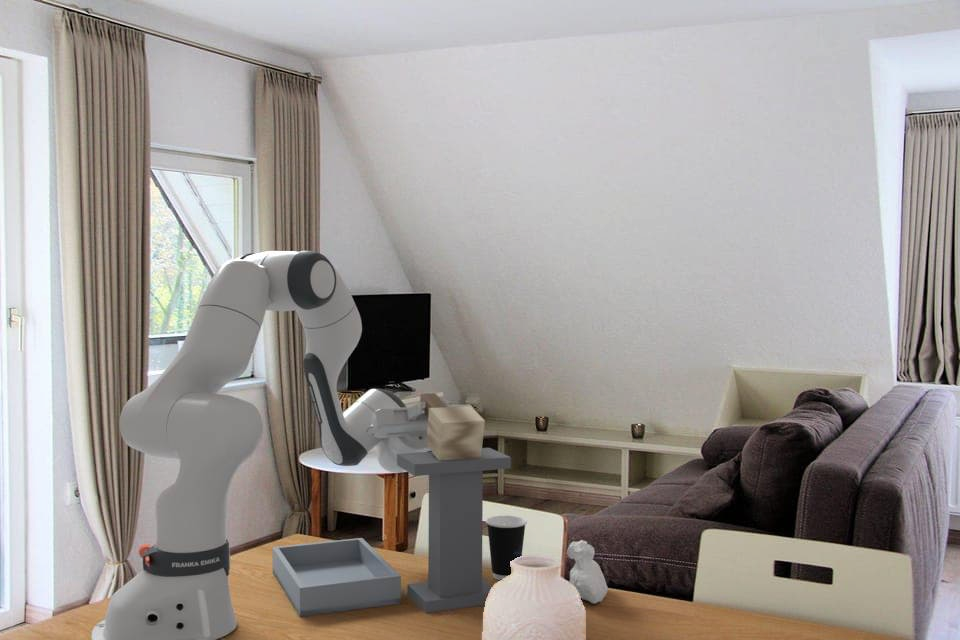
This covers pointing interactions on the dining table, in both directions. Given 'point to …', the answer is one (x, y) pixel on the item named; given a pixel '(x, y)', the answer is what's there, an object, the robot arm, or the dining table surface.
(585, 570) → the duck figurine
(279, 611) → the dining table surface
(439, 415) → the mallet
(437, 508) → the stand
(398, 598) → the tray
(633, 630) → the dining table surface
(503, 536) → the dixie cup
